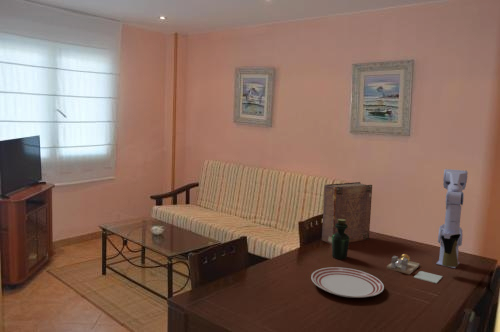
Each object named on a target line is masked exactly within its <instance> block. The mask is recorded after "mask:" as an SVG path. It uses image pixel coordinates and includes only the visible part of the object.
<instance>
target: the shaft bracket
mask: <svg viewBox="0 0 500 332" xmlns="http://www.w3.org/2000/svg"><path fill="white" fill-rule="evenodd" d="M398 260H400V258H399V256H396V255H393V256H392V257H391V263H389V264H387V265H386V270H391V271H394V272H399V273H403V274H405V275H410V274H412V273H413V272H414V271H416V270H417V268H420V266H421V263H419V262H415V261H411V260H410V261H409V262H408V259H406V258H404V259H403V260H402V264H401V265H400V266H399V267H395V265H394V264H395V263H396V262H397V261H398Z"/></svg>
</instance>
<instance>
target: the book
mask: <svg viewBox="0 0 500 332" xmlns="http://www.w3.org/2000/svg"><path fill="white" fill-rule="evenodd" d="M323 189H324V190H323V206H322V207H323V208H322V225H321V226H322V227H321V230H322V231H321V241H322V242H325V243H327V244H330V245H332V236H333V234H335V233H337V232H338V230H337V228H336V227H335V225H336V224H337V223H338V219H345V220H346V222H345V224H347V226H348V228H346V229H345V232H344V233H345V234H347V235H348V236H349V238H350V239H349V244H350V243H353V242H354V243H355V242H362V241H366V240H367V241H369V240H370V230H371V229H370V227H371V212H372V198H373V197H372V196H373V184H364V183H361V181H356V182H342V183H341V182H340V183H331V184H330V183H329V184H324V187H323Z"/></svg>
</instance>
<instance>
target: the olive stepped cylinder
mask: <svg viewBox="0 0 500 332" xmlns="http://www.w3.org/2000/svg"><path fill="white" fill-rule="evenodd" d="M443 244H444V243H443ZM456 246H457V241H455V242H454V245H453V248H452V252H451V254H448V253H445V250H444V256H443V262H442V265H444V266H443V267H447V266H448V268H451V267H456V268H458V267H459V264H458V262H459V261H457V254H456ZM442 265H441V266H442Z"/></svg>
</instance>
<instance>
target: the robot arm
mask: <svg viewBox="0 0 500 332" xmlns="http://www.w3.org/2000/svg"><path fill="white" fill-rule="evenodd" d="M468 174H469V173H468V170H461V169H450V168H449V169H448V168H445V169H443V179H442V182H443V183H442V185H443V188H444V189H446V190H447V191H446V193H445V217H444V218H445V219H444V223H443V224H441V225H440V226H439V227H438V237H437V242H438V244H440V245H439V247H440V248H439V258H438V260H437V262H436V265H438V266H439V265H440V266H442V267H445V266H444V265H442V262H443V256H444V250H445V253H448V254H451V252H452V248H453V245H454V242H455V241H457V246H456V254H457V261H458V260H459V251H460V250H459V247H461V246H462V245H463V244H462V243H463V229H462V227H460V225H461V218H462V217H461V215H462V206H463V205H464V200H465V199H464V197H465V195H464V190H465V189H466V186H467V181H468ZM443 243H444V244H443ZM460 263H461V262H460V261H458V265H460ZM446 267H448V266H446ZM448 268H449V267H448ZM450 268H452V269H456V268H457V267H450Z"/></svg>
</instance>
